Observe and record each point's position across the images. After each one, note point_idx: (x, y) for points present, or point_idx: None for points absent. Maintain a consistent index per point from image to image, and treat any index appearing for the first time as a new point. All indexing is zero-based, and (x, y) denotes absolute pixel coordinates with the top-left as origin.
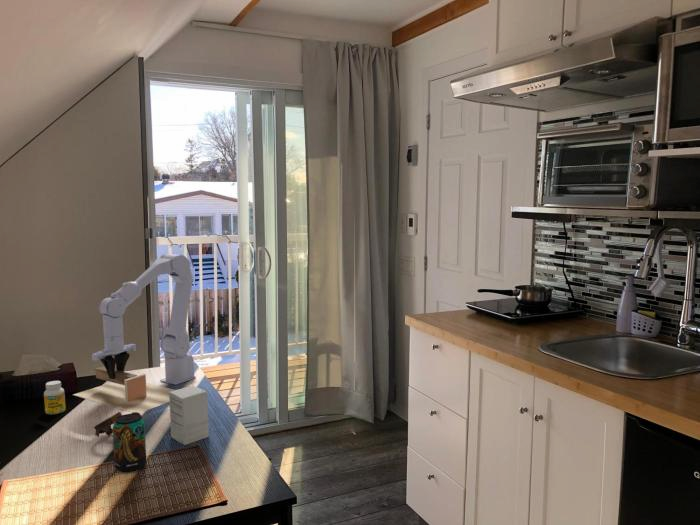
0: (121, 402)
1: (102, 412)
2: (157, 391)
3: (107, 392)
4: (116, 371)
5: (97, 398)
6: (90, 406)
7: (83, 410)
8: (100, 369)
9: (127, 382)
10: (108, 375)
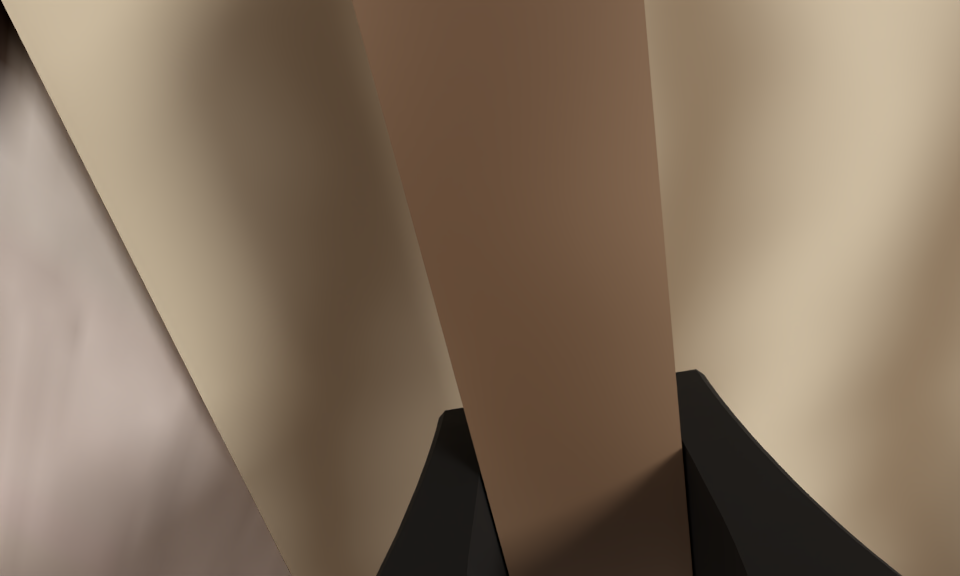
0: None
1: (192, 555)
2: (912, 514)
3: None
4: (614, 537)
5: (230, 250)
6: (111, 327)
7: (9, 392)
8: (390, 74)
9: None
10: (432, 451)
